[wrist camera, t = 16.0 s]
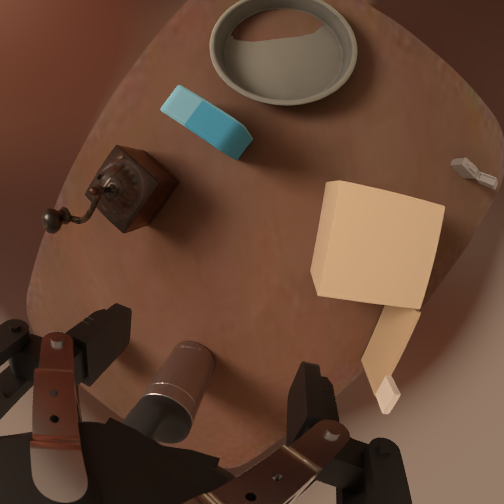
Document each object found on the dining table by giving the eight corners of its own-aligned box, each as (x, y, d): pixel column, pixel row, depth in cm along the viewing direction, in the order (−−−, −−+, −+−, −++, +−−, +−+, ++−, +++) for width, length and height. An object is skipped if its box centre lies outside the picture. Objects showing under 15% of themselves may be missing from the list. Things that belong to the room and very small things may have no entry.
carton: (393, 283, 48) (420, 309, 37) (310, 270, 50) (317, 295, 38) (411, 201, 45) (445, 206, 33) (325, 182, 46) (339, 180, 35)
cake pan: (378, 55, 40) (385, 45, 36) (290, 140, 46) (291, 136, 41) (276, -15, 38) (275, -27, 34) (188, 60, 44) (180, 51, 40)
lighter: (449, 165, 43) (473, 163, 35) (453, 158, 42) (476, 155, 34) (473, 188, 43) (497, 190, 35) (476, 181, 42) (500, 182, 35)
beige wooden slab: (396, 287, 48) (436, 327, 32) (365, 360, 52) (387, 416, 36) (390, 286, 48) (429, 326, 32) (360, 359, 52) (380, 415, 36)
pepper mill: (139, 145, 48) (79, 132, 31) (181, 182, 49) (131, 181, 31) (97, 211, 52) (33, 223, 34) (134, 247, 52) (76, 274, 35)
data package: (183, 124, 46) (155, 107, 35) (199, 103, 45) (175, 81, 34) (238, 161, 47) (223, 153, 35) (254, 140, 46) (245, 125, 34)
